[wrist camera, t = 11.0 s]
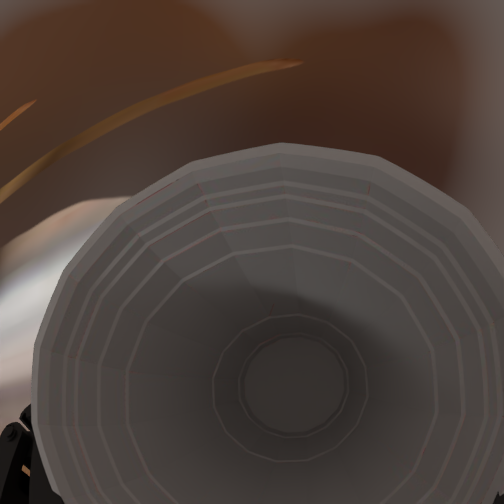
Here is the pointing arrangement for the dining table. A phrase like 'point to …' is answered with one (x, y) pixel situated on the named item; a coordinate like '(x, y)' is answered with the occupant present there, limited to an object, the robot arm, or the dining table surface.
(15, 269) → the dining table surface
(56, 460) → the plastic cup
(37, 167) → the dining table surface
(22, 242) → the dining table surface
